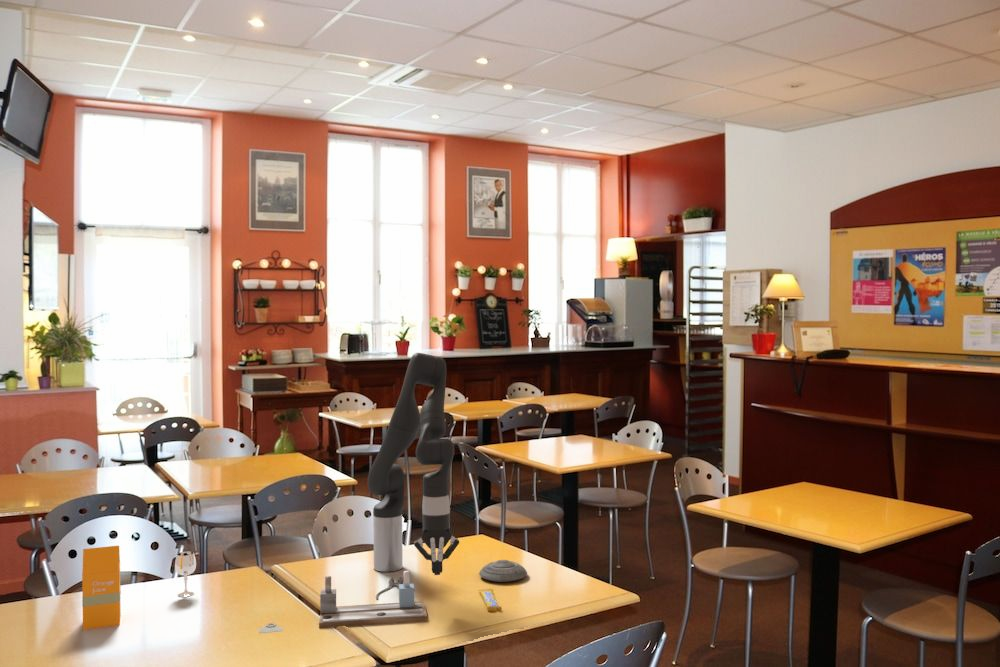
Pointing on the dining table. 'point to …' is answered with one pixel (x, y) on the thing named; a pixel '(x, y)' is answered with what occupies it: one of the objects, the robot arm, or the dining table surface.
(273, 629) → the mounting bracket
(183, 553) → the wineglass
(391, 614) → the board
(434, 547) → the robot arm
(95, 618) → the orange juice
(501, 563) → the flying saucer
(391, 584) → the pliers
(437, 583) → the dining table surface
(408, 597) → the pointer block
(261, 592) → the dining table surface
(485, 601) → the candy bar
